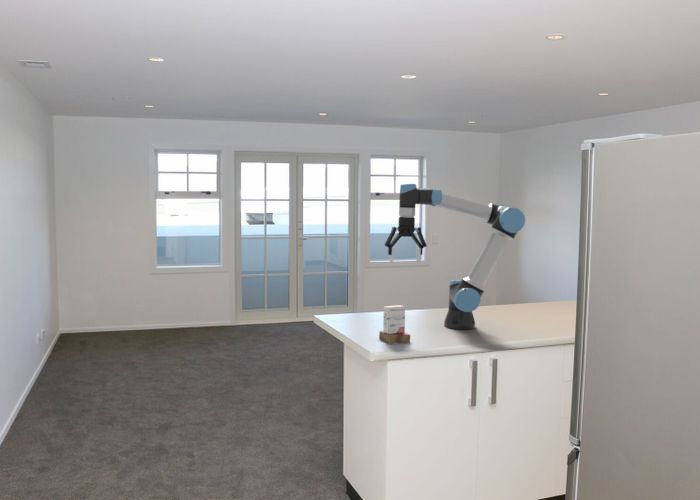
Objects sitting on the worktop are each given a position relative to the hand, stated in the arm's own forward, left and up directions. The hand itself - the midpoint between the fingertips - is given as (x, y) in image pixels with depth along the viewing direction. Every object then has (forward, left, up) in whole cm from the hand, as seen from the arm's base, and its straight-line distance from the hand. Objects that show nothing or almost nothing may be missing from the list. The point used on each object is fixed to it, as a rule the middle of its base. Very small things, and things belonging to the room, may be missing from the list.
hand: (405, 261), depth 317 cm
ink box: (+11, +19, -29) cm, 37 cm away
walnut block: (+11, +19, -33) cm, 40 cm away
